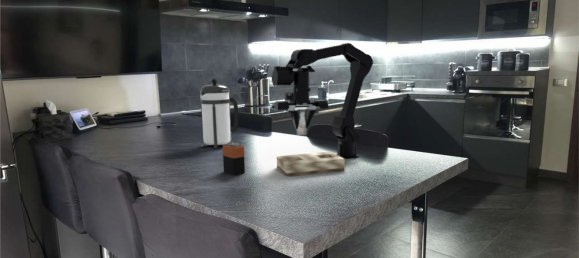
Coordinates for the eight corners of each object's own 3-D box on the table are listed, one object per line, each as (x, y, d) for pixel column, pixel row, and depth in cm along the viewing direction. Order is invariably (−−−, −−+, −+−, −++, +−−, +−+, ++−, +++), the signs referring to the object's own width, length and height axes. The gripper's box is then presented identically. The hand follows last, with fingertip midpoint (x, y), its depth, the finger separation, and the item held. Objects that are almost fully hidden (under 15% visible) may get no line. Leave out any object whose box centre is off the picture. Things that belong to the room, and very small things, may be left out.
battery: (234, 175, 128) (233, 145, 126) (223, 171, 133) (221, 142, 131) (245, 173, 131) (244, 143, 129) (234, 169, 136) (232, 140, 134)
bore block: (330, 162, 143) (330, 151, 142) (344, 170, 131) (344, 158, 131) (276, 167, 137) (276, 156, 136) (286, 176, 126) (286, 164, 125)
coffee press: (234, 149, 170) (231, 78, 165) (196, 149, 170) (192, 79, 165) (239, 141, 187) (237, 77, 182) (205, 142, 187) (202, 78, 183)
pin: (304, 133, 145) (304, 108, 144) (307, 134, 142) (307, 109, 141) (295, 133, 144) (295, 109, 143) (298, 135, 141) (298, 110, 140)
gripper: (318, 84, 151) (318, 124, 153) (270, 85, 146) (271, 127, 148) (329, 85, 140) (328, 128, 142) (277, 86, 135) (278, 131, 137)
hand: (301, 128), depth 143 cm, fingers closed on pin, 3 cm apart
